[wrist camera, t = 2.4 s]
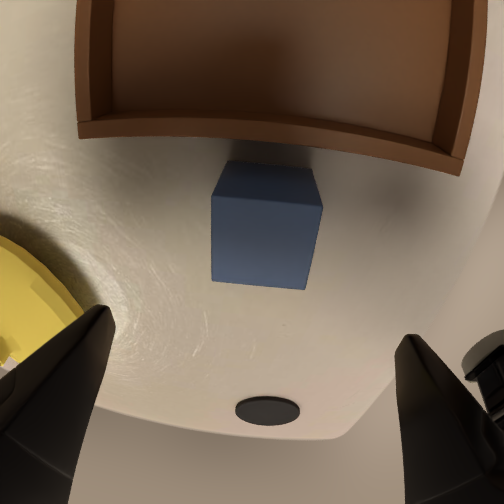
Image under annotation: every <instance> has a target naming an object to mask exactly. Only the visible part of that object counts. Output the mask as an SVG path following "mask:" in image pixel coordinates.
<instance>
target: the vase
mask: <svg viewBox="0 0 504 504" xmlns="http://www.w3.org/2000/svg"><path fill="white" fill-rule="evenodd" d="M82 314H84V311H83V309H82V308H81V307H80V305H79V304H78V303H77V302H76V300H75V299H74V298H73V296H72V295H71V294H70V292H69V291H68V290H67V288H66V287H65V286H64V285H63V284H62V283H61V282H60V281H59V280H58V279H57V278H56V277H55V276H54V275H53V274H52V273H51V272H50V271H49V269H48V268H47V267H46V266H45V265H43V264H42V263H41V262H40V261H38V260H37V259H36V258H35V257H33V256H32V255H31V254H30V253H29V252H27V251H26V250H25V249H24V248H22V247H20V246H19V245H17V244H15V243H14V242H12V241H10V240H8V239H7V238H5V237H3V236H0V366H3V365H4V363H5V362H6V360H7V358H8V357H9V356H10V357H11V358H13V359H14V360H15V361H17V362H18V363H21V362H22V361H23V360H25V359H26V358H27V357H28V356H30V355H31V354H32V353H33V352H35V351H36V350H37V349H38V348H40V347H41V346H42V345H43V344H45V343H46V342H47V341H48V340H50V339H51V338H52V337H54V336H55V335H56V334H57V333H59V332H60V331H61V330H63V329H64V328H65V327H67V326H68V325H69V324H71V323H72V322H73V321H74V320H76V319H77V318H78V317H80V316H81V315H82Z"/></svg>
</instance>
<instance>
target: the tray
mask: <svg viewBox="0 0 504 504" xmlns="http://www.w3.org/2000/svg"><path fill="white" fill-rule="evenodd" d="M487 11H488V0H77V6H76V21H75V49H74V68H75V97H76V112H77V121H78V123H77V126H78V136H79V139H91V138H109V137H145V136H170V137H207V138H226V139H241V140H254V141H265V142H276V143H285V144H294V145H302V146H310V147H317V148H324V149H331V150H338V151H344V152H350V153H356V154H361V155H367V156H372V157H378V158H383V159H388V160H393V161H397V162H402V163H407V164H411V165H415V166H420V167H424V168H428V169H432V170H436V171H440V172H444V173H447V174H451V175H455V176H460V173H461V170H462V166H463V163H464V159H465V155H466V151H467V148H468V144H469V140H470V136H471V132H472V127H473V123H474V118H475V113H476V108H477V103H478V98H479V92H480V86H481V80H482V73H483V65H484V56H485V46H486V34H487Z"/></svg>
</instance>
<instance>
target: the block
mask: <svg viewBox="0 0 504 504" xmlns="http://www.w3.org/2000/svg"><path fill="white" fill-rule="evenodd" d="M322 211H323V204H322V201H321V198H320V194H319V191H318V188H317V184H316V181H315V178H314V175H313V171H312V169H309V168H301V167H293V166H284V165H274V164H264V163H253V162H241V161H227V162H226V164H225V167H224V169H223V171H222V173H221V175H220V178H219V180H218V182H217V184H216V187H215V189H214V191H213V193H212V196H211V273H212V281H217V282H226V283H236V284H246V285H256V286H266V287H277V288H288V289H300V290H305V288H306V284H307V280H308V275H309V271H310V267H311V262H312V258H313V253H314V249H315V244H316V240H317V235H318V230H319V225H320V220H321V216H322Z"/></svg>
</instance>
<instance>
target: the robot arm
mask: <svg viewBox="0 0 504 504" xmlns="http://www.w3.org/2000/svg"><path fill="white" fill-rule="evenodd" d="M115 328H116V326H115V322H114V319H113V316H112V313H111V310H110V308H109V307H108V306H106V305H100V304H97V305H95V306H93V307H92V308H90V309H89V310H88V311H86V312H85V313H84V314H82V315H81V316H80V317H78V318H77V319H76V320H74V321H73V322H72V323H71V324H69V325H68V326H67V327H65V328H64V329H63V330H61V331H60V332H59V333H57V334H56V335H55V336H54V337H52V338H51V339H50V340H48V341H47V342H46V343H45V344H43V345H42V346H41V347H40V348H38V349H37V350H36V351H35V352H33V353H32V354H31V355H30V356H28V357H27V358H26V359H25V360H23V361H22V362H21V363H20V364H18V365H17V366H16V368H13V369H12V370H11V371H10V372H9V373H7V374H6V375H5V376H4V377H2V378H1V379H0V504H68V500H69V495H70V491H71V486H72V482H73V477H74V473H75V469H76V465H77V461H78V457H79V454H80V450H81V446H82V443H83V439H84V436H85V432H86V429H87V426H88V423H89V419H90V416H91V413H92V410H93V406H94V403H95V400H96V397H97V394H98V391H99V388H100V385H101V383H102V380H103V377H104V373H105V370H106V366H107V362H108V358H109V353H110V349H111V345H112V341H113V337H114V334H115ZM395 374H396V396H397V406H398V413H399V422H400V431H401V441H402V452H403V466H404V483H405V504H504V345H503V344H501V345H499V346H498V347H497V348H496V349H495V350H494V351H492V352H491V353H490V354H489V355H488V356H487V357H486V358H485V359H484V360H483V361H482V362H480V363H479V364H478V365H477V366H476V367H475V368H474V369H472V370H471V371H470V372H469V373H468V374H466V375H465V376H464V378H465V380H466V381H473V382H477V383H478V386H479V389H480V392H481V395H482V398H483V401H484V403H485V407H486V410H487V413H486V411H485V410H483V408H482V406H481V405H480V404H479V403H478V402H477V400H476V399H475V398H474V397H473V396H472V394H471V393H470V392H469V391H468V390H467V388H466V387H465V386H464V385H463V384H462V383H461V381H460V380H459V379H458V378H457V377H456V376H455V375H454V373H453V372H452V371H451V370H450V369H449V368H448V367H447V365H446V364H445V363H444V362H443V361H442V360H441V359H440V358H439V357H438V355H437V354H436V353H435V352H434V351H433V350H432V349H431V348H430V347H429V346H428V344H427V343H426V342H425V341H424V340H423V339H422V338H421V337H420V336H419V335H417V334H407V335H405V336H404V338H403V339H402V341H401V343H400V344H399V346H398V347H397V349H396V351H395Z"/></svg>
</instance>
